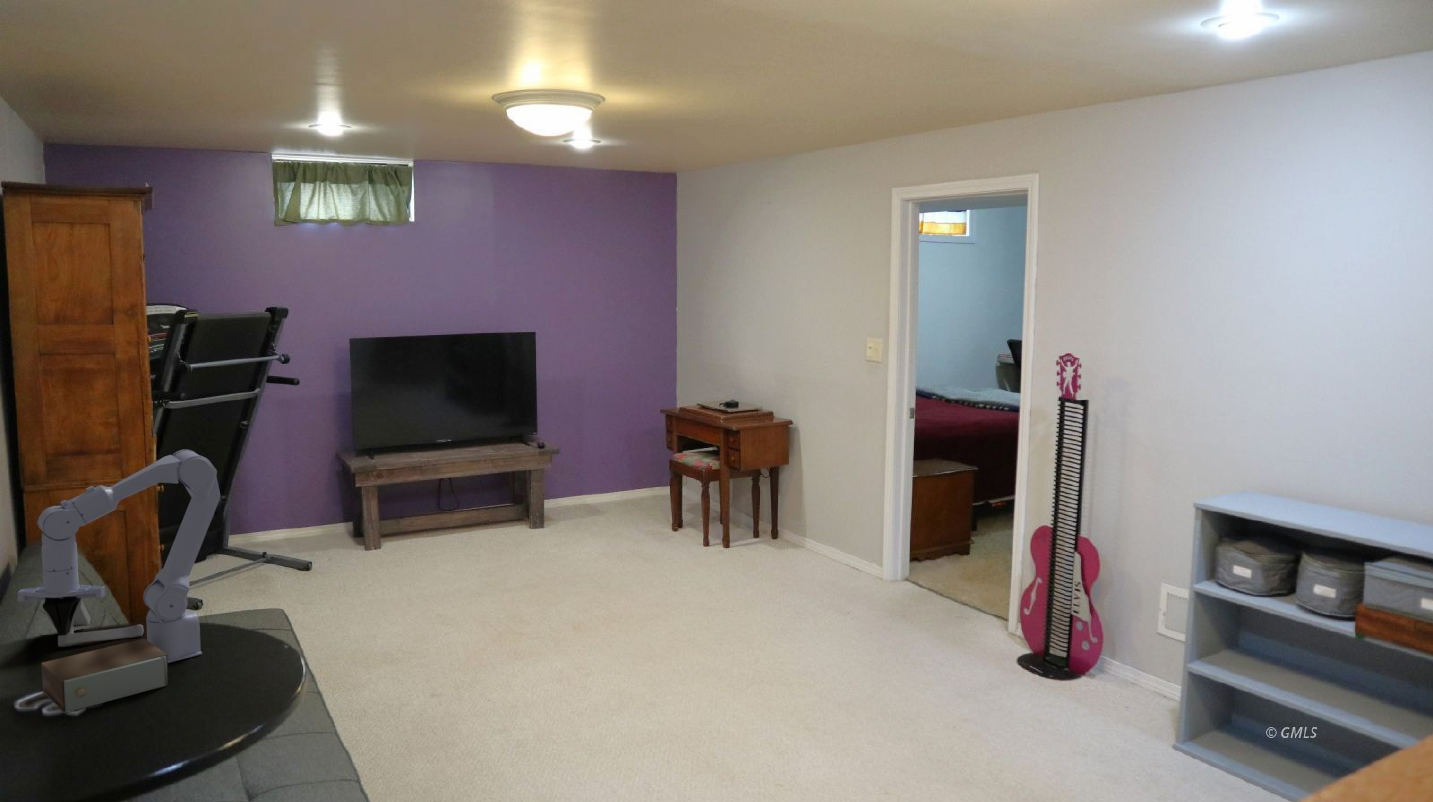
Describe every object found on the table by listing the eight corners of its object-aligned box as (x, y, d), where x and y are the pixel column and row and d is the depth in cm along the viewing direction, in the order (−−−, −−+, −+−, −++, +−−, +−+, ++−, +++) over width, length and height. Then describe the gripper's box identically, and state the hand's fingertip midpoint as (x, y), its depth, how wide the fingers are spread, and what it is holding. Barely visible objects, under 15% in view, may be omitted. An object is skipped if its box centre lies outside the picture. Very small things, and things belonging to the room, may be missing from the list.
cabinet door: (166, 683, 191) (165, 655, 190) (170, 686, 189) (168, 658, 189) (65, 710, 178) (63, 680, 177) (68, 713, 177) (67, 683, 176)
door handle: (55, 658, 216) (43, 642, 199) (54, 623, 218) (42, 604, 202) (146, 644, 224) (141, 628, 208) (144, 610, 227) (140, 591, 211)
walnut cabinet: (145, 665, 199) (144, 638, 198) (168, 683, 191) (167, 654, 191) (43, 692, 185) (41, 662, 185) (63, 711, 178) (61, 681, 177)
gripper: (109, 560, 194) (112, 624, 196) (27, 562, 191) (31, 628, 193) (95, 570, 188) (98, 637, 189) (10, 573, 184) (15, 641, 186)
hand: (64, 633), depth 191 cm, fingers closed
